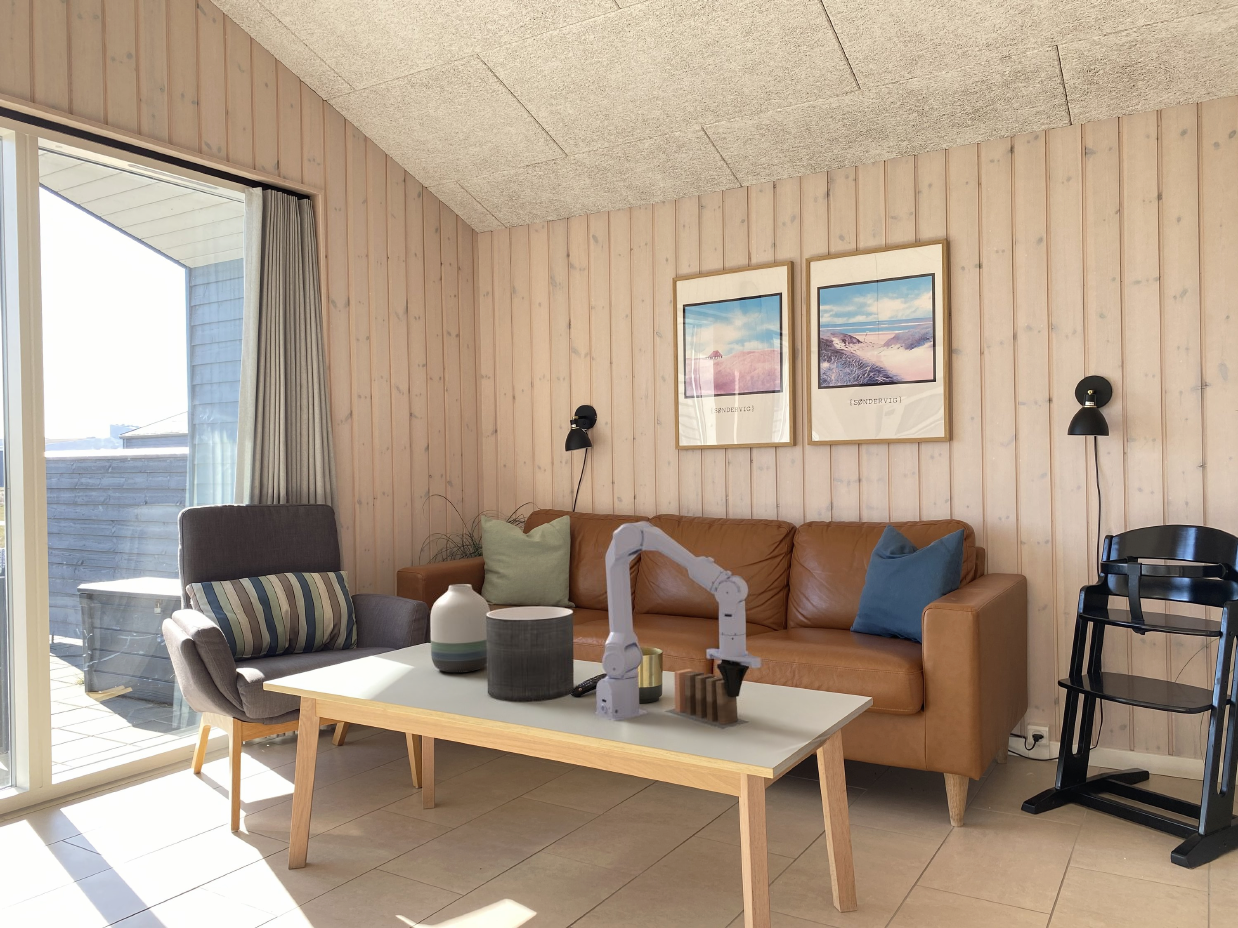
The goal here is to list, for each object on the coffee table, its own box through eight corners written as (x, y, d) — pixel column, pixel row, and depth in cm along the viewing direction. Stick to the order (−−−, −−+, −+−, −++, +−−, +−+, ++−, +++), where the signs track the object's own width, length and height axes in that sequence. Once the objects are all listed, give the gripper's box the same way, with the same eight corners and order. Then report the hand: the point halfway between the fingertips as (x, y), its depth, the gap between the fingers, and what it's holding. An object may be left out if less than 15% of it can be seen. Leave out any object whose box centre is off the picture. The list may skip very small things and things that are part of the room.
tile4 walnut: (690, 715, 199) (689, 675, 199) (685, 713, 200) (684, 674, 200) (704, 711, 201) (703, 672, 202) (699, 710, 203) (698, 671, 203)
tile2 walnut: (712, 721, 193) (711, 680, 193) (707, 720, 194) (706, 679, 195) (726, 718, 196) (725, 677, 196) (721, 716, 197) (720, 676, 197)
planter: (469, 697, 220) (468, 616, 220) (516, 678, 240) (515, 604, 240) (547, 705, 211) (545, 621, 211) (589, 685, 231) (587, 608, 231)
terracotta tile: (679, 712, 201) (679, 672, 202) (675, 710, 203) (674, 671, 203) (694, 708, 204) (693, 669, 204) (689, 707, 205) (688, 668, 206)
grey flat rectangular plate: (723, 729, 188) (723, 728, 188) (664, 712, 203) (664, 710, 203) (749, 722, 193) (749, 721, 193) (690, 706, 208) (690, 704, 208)
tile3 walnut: (701, 718, 196) (700, 677, 196) (696, 717, 197) (695, 676, 197) (715, 715, 199) (714, 674, 199) (710, 713, 200) (709, 673, 200)
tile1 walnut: (723, 724, 190) (721, 682, 191) (718, 723, 192) (715, 681, 192) (737, 721, 193) (735, 679, 194) (732, 719, 194) (730, 678, 195)
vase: (439, 663, 262) (438, 582, 262) (496, 662, 261) (494, 581, 262) (424, 676, 245) (423, 589, 245) (485, 675, 244) (483, 588, 245)
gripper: (770, 635, 188) (771, 699, 188) (722, 626, 199) (723, 687, 199) (747, 639, 184) (748, 705, 183) (699, 630, 195) (700, 692, 195)
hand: (733, 696), depth 191 cm, fingers closed
